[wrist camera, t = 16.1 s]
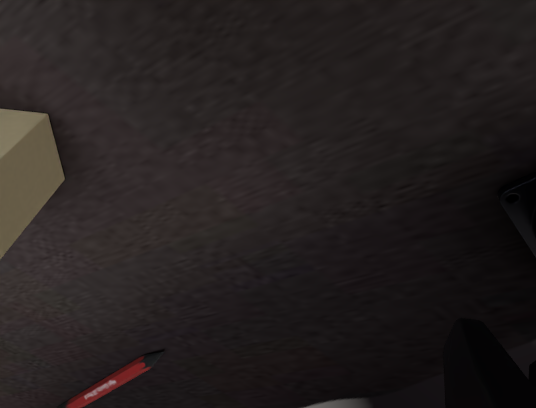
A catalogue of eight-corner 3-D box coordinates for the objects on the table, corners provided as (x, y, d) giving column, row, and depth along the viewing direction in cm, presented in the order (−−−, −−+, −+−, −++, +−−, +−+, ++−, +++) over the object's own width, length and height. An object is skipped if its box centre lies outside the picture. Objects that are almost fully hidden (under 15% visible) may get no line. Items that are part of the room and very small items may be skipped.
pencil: (172, 348, 32) (167, 361, 31) (69, 408, 39) (63, 420, 38) (161, 341, 32) (156, 354, 31) (59, 403, 39) (53, 415, 38)
